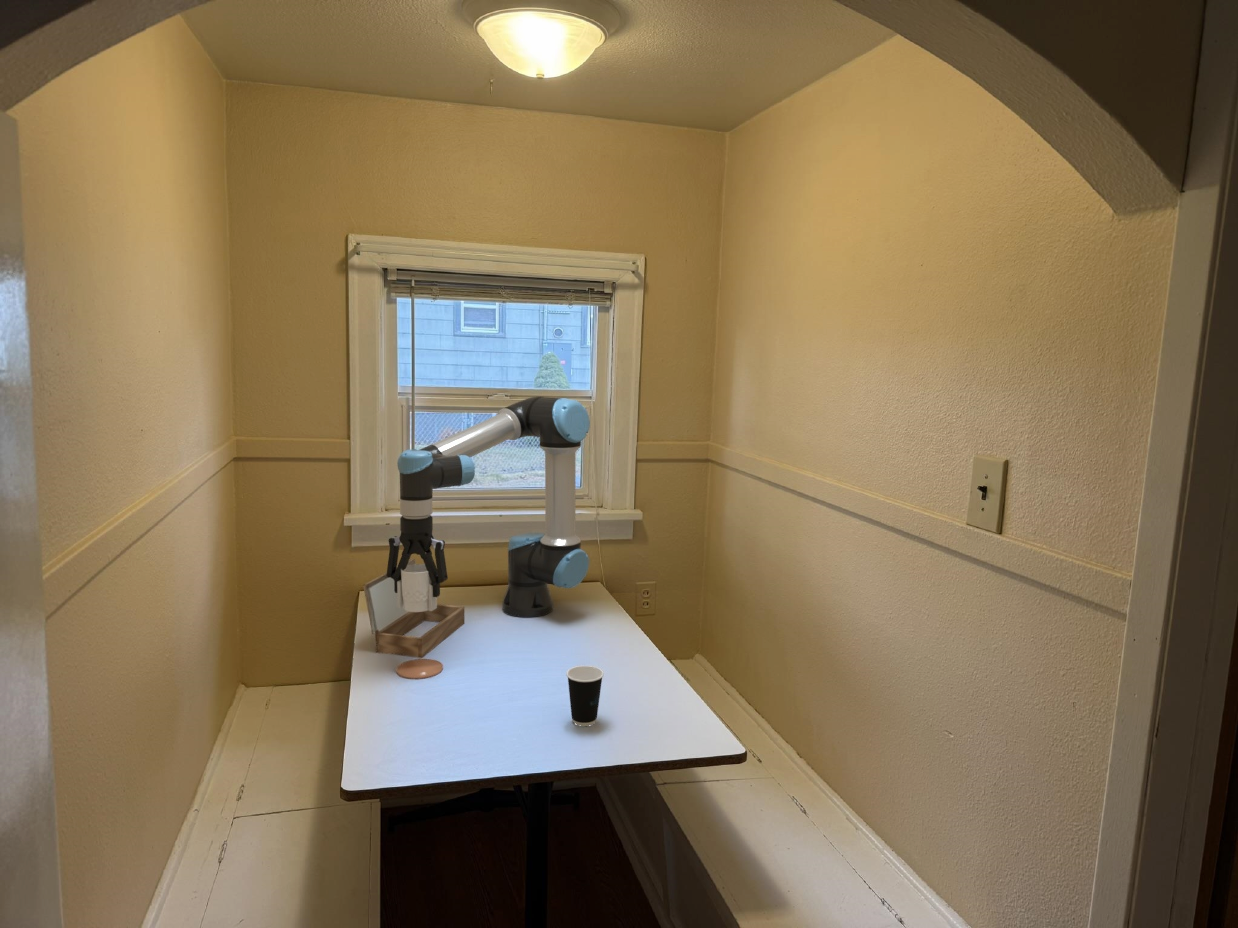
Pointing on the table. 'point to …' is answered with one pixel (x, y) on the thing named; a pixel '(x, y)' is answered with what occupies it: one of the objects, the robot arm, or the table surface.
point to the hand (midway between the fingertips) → (417, 607)
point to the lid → (383, 601)
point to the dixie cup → (584, 693)
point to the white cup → (415, 588)
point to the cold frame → (399, 644)
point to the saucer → (419, 668)
